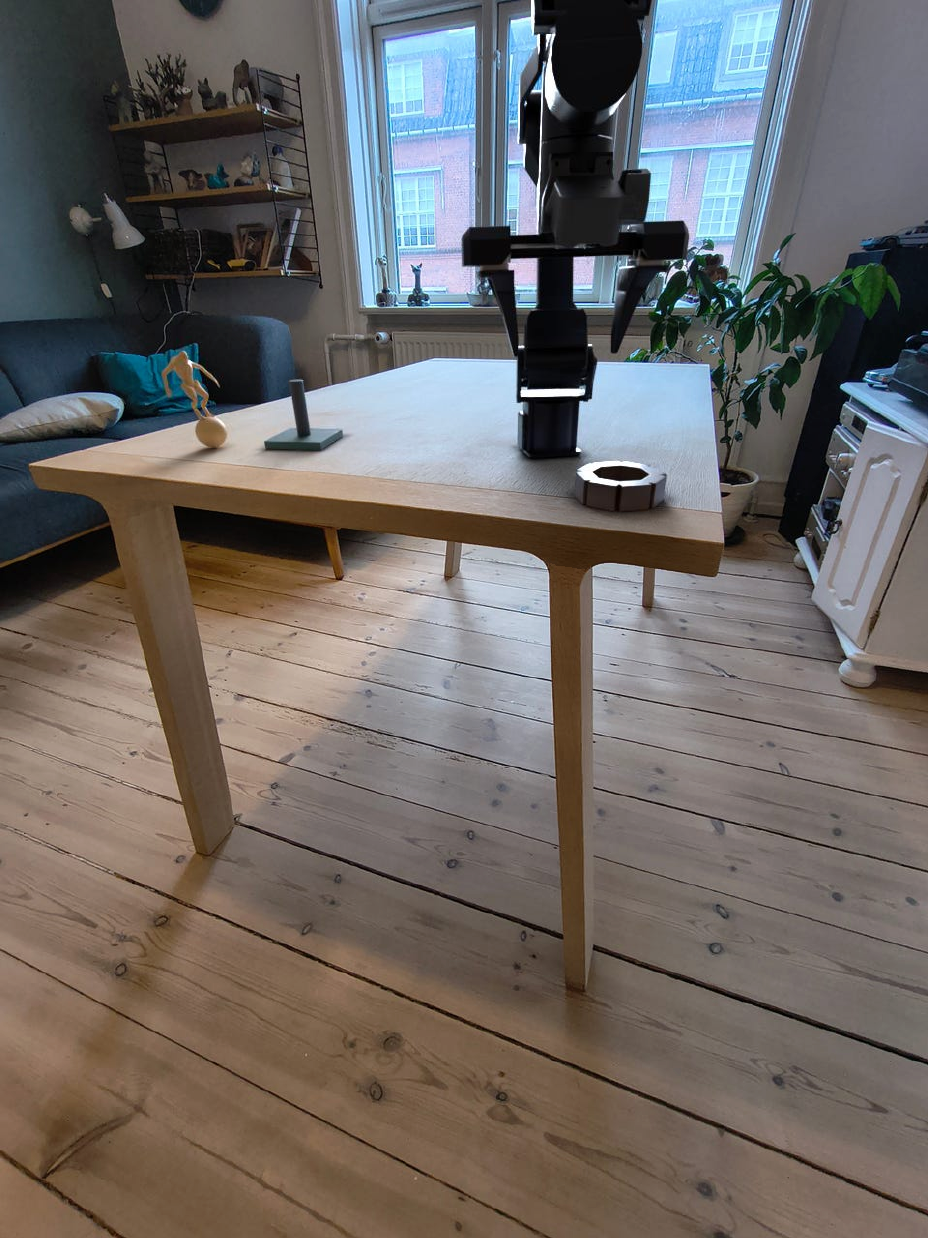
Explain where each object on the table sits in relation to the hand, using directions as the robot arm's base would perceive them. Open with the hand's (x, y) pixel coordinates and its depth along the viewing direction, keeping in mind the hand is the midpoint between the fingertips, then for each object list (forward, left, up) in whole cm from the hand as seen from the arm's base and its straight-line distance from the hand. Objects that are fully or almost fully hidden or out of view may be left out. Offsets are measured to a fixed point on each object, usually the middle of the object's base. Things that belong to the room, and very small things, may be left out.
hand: (564, 354), depth 55 cm
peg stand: (+28, -27, -13) cm, 41 cm away
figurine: (+41, -28, -13) cm, 51 cm away
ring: (-5, +4, -13) cm, 14 cm away
